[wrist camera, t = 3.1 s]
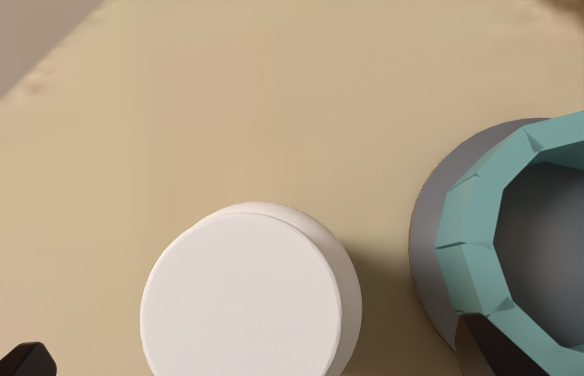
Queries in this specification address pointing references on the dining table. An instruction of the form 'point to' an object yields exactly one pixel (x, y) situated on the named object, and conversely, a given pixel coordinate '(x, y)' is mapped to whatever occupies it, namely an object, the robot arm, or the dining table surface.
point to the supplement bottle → (252, 297)
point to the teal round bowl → (508, 238)
